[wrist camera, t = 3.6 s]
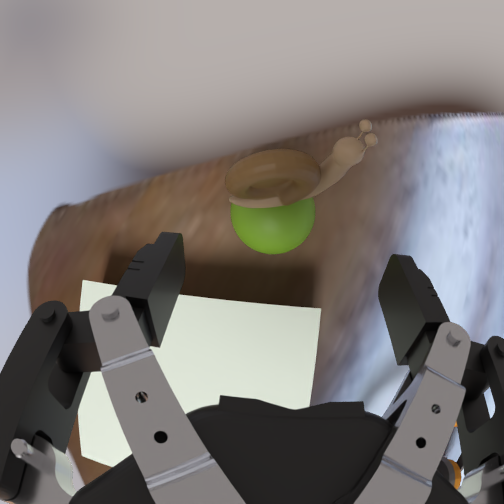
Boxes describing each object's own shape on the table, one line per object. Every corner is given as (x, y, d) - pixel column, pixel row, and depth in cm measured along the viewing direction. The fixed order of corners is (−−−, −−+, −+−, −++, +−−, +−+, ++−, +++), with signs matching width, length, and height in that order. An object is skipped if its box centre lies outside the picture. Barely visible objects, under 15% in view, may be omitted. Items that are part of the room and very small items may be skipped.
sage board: (312, 307, 21) (321, 308, 18) (288, 476, 19) (292, 496, 16) (102, 283, 22) (83, 279, 19) (98, 442, 19) (81, 455, 16)
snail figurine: (327, 249, 22) (399, 192, 10) (240, 265, 22) (221, 221, 10) (311, 181, 23) (354, 78, 11) (228, 194, 23) (202, 93, 11)
